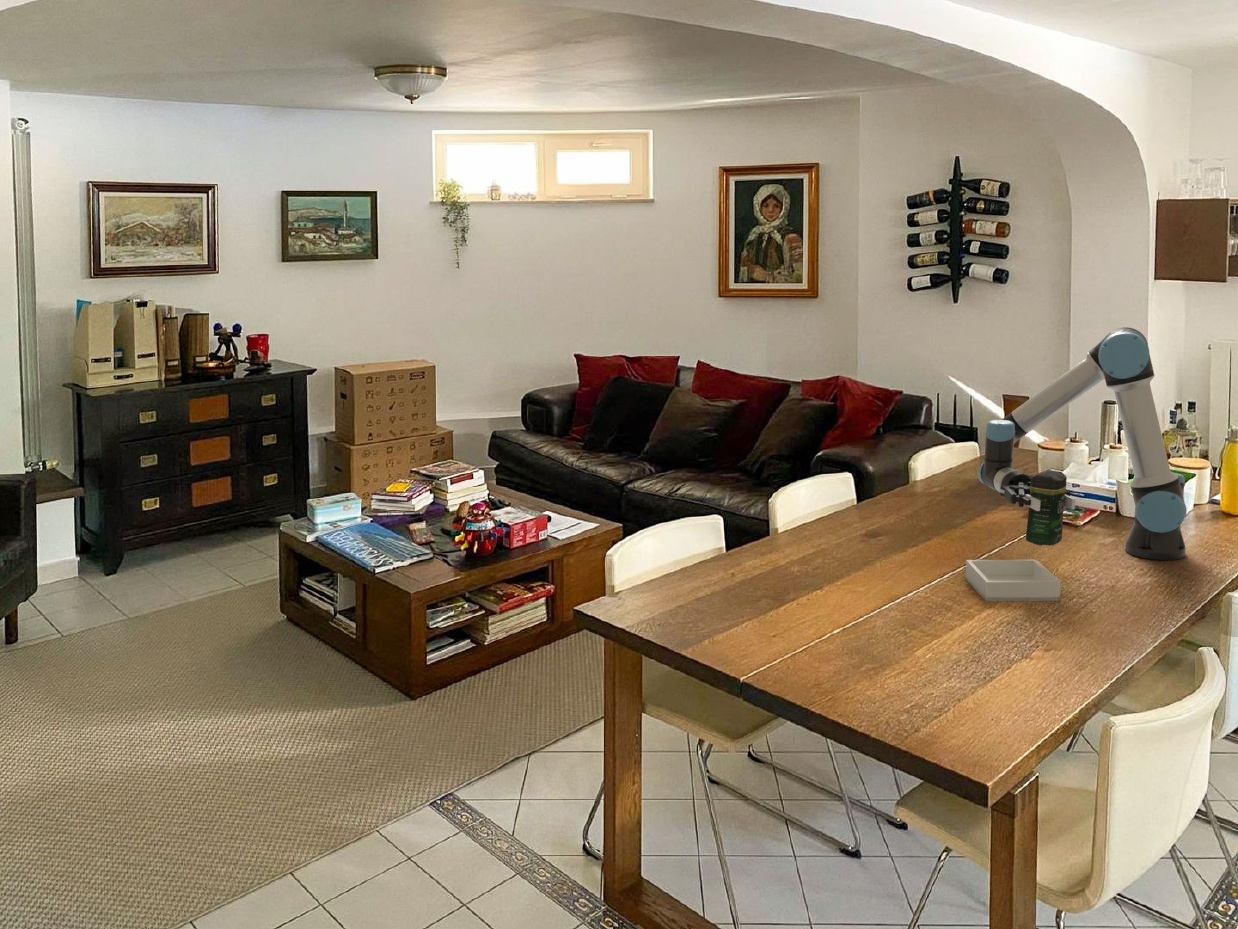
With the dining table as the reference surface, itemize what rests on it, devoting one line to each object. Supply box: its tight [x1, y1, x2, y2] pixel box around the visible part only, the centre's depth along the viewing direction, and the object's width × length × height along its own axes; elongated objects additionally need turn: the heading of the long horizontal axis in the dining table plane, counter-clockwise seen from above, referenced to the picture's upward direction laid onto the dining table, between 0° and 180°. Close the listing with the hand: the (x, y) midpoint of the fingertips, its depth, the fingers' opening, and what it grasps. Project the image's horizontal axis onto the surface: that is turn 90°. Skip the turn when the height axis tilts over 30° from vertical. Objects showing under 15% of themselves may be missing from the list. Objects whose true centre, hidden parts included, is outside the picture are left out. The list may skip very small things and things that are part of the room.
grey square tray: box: [964, 559, 1062, 602], centre depth 272 cm, size 18×18×5 cm
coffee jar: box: [1025, 469, 1067, 547], centre depth 274 cm, size 10×8×19 cm
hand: (1056, 505), depth 269 cm, fingers closed on coffee jar, 8 cm apart
